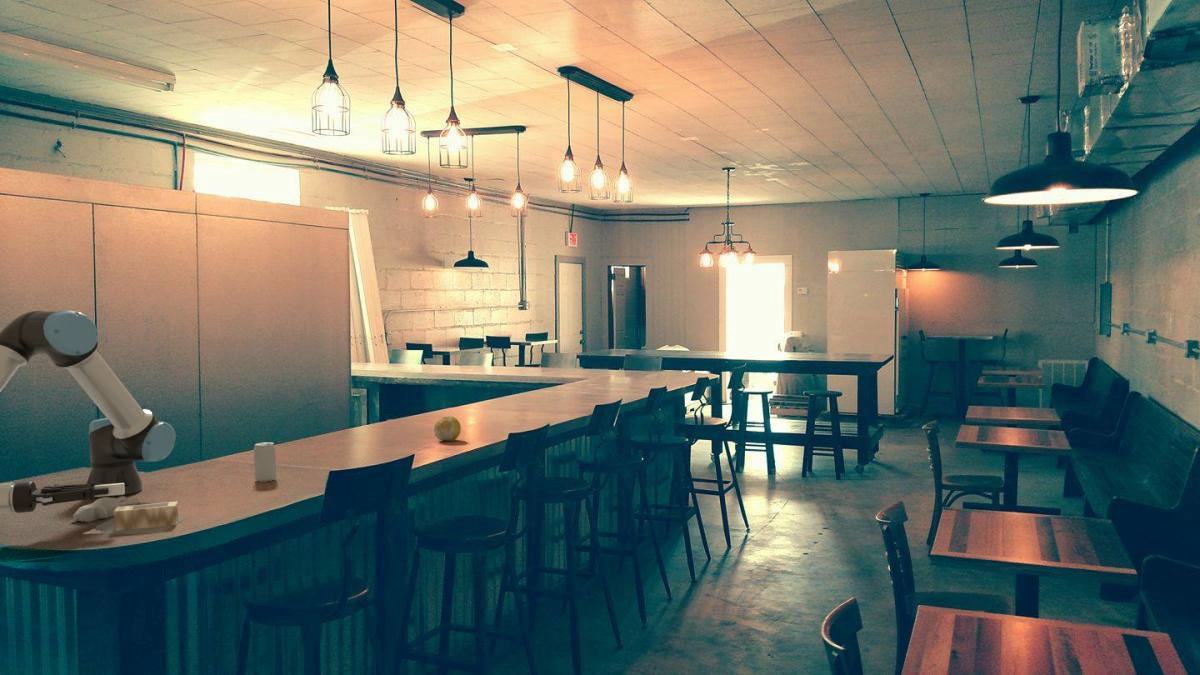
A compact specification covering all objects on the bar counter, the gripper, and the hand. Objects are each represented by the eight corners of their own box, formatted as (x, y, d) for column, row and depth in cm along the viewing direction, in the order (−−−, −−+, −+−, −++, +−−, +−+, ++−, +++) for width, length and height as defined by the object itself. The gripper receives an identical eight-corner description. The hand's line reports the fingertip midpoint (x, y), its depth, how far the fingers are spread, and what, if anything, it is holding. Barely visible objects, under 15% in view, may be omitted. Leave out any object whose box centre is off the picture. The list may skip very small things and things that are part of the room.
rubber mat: (79, 535, 211) (79, 534, 211) (112, 519, 226) (112, 518, 226) (160, 534, 211) (160, 532, 211) (188, 518, 226) (188, 516, 226)
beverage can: (268, 483, 267) (267, 445, 267) (250, 482, 269) (249, 445, 268) (280, 478, 274) (279, 442, 273) (262, 477, 275) (261, 441, 274)
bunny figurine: (65, 507, 224) (118, 488, 237) (68, 525, 224) (121, 506, 238) (87, 511, 219) (140, 492, 233) (90, 530, 220) (143, 509, 233)
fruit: (438, 438, 345) (438, 414, 344) (464, 439, 343) (463, 414, 343) (430, 443, 335) (430, 418, 334) (456, 443, 333) (456, 418, 333)
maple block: (114, 511, 213) (175, 505, 218) (117, 506, 218) (177, 501, 223) (114, 530, 213) (176, 524, 218) (118, 525, 218) (178, 519, 223)
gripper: (23, 506, 213) (128, 497, 222) (8, 519, 201) (120, 509, 210) (21, 477, 213) (127, 469, 222) (6, 488, 201) (119, 479, 210)
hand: (124, 488), depth 216 cm, fingers closed
